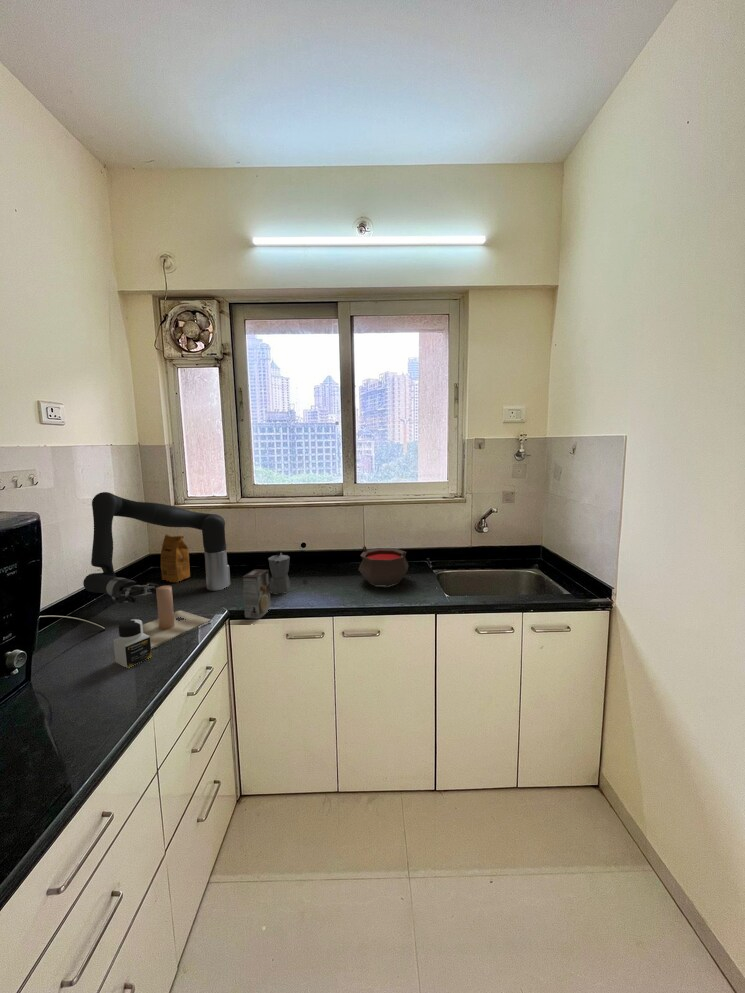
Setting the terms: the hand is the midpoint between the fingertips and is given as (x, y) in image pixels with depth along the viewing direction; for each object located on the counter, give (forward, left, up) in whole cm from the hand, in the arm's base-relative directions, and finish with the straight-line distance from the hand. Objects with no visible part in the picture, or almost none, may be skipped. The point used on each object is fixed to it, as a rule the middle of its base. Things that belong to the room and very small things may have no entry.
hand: (147, 595), depth 141 cm
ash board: (0, +11, -10) cm, 15 cm away
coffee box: (-25, +29, -11) cm, 40 cm away
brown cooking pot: (-78, +55, -11) cm, 96 cm away
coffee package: (-35, -37, -11) cm, 52 cm away
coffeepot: (-48, +19, -11) cm, 53 cm away
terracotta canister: (0, +11, -9) cm, 14 cm away
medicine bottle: (+17, +21, -11) cm, 29 cm away
